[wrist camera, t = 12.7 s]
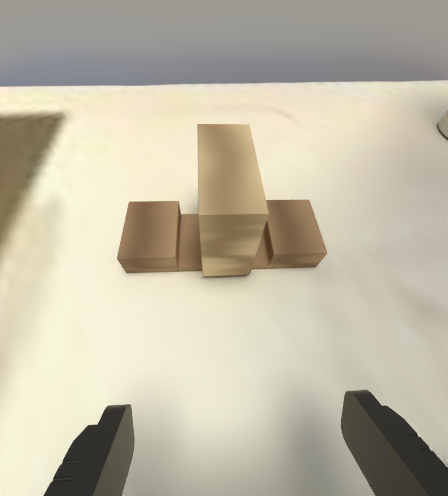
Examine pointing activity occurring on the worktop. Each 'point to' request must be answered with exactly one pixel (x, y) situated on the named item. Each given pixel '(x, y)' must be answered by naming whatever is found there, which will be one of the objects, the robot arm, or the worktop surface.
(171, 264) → the notched beam
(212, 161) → the oak crosspiece
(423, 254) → the worktop surface
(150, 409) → the worktop surface
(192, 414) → the worktop surface
